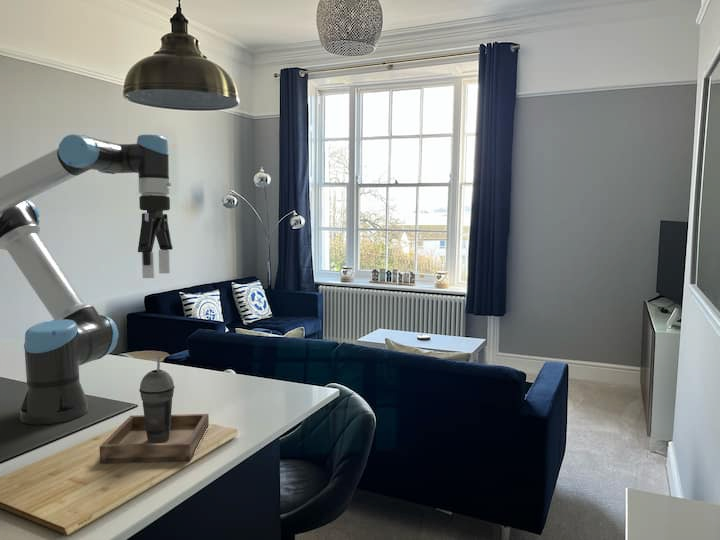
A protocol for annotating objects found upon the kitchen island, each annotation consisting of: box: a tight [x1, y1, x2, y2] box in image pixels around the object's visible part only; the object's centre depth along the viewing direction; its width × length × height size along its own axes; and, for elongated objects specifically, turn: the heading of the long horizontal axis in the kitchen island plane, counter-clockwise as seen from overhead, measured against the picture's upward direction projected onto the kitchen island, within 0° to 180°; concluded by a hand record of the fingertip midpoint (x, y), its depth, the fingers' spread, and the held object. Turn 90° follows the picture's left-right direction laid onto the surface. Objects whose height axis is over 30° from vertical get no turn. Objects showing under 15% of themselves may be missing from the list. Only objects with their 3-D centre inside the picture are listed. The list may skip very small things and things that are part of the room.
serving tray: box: [98, 413, 210, 464], centre depth 120 cm, size 18×18×4 cm
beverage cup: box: [138, 350, 175, 443], centre depth 119 cm, size 7×7×20 cm
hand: (156, 275), depth 145 cm, fingers open, 13 cm apart
